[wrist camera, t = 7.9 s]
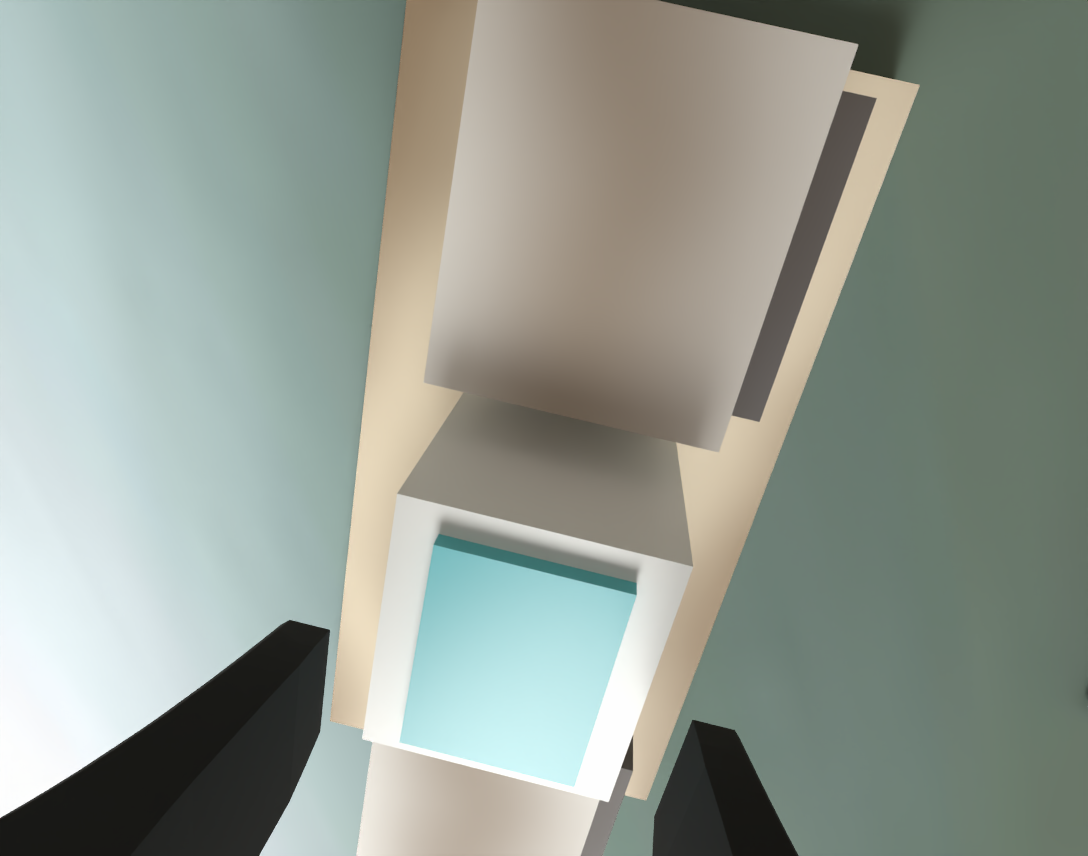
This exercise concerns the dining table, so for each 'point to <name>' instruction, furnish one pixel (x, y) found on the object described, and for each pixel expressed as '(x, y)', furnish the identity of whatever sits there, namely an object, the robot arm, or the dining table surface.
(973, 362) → the dining table surface
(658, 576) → the block
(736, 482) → the board
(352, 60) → the dining table surface
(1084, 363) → the dining table surface
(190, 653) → the dining table surface
